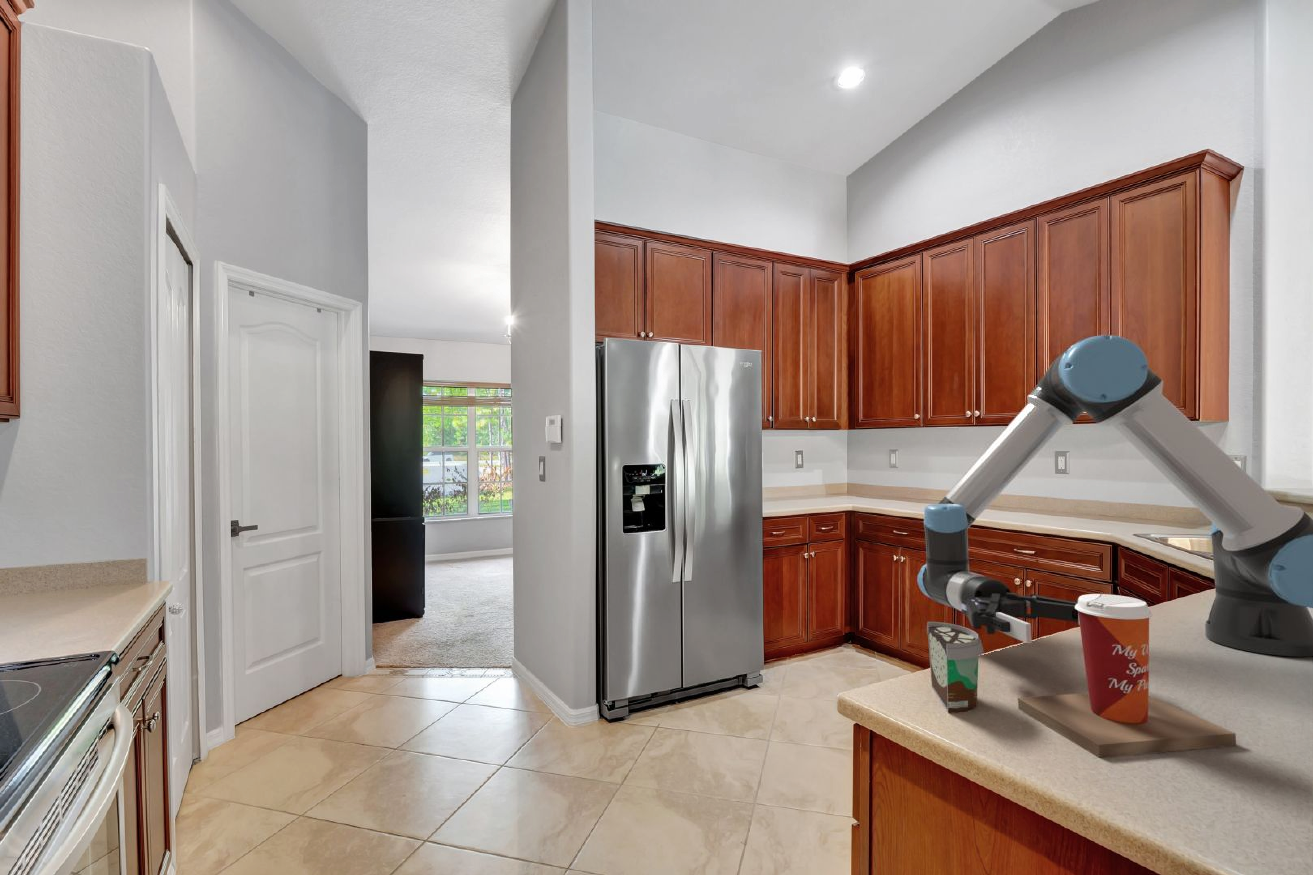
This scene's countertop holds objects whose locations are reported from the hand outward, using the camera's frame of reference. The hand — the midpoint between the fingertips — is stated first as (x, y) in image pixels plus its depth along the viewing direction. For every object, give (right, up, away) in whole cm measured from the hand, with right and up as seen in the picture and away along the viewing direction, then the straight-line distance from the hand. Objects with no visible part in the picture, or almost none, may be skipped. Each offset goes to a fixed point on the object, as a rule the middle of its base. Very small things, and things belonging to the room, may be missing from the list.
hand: (1073, 630), depth 87 cm
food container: (-15, -11, +2) cm, 19 cm away
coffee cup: (+1, -9, -7) cm, 11 cm away
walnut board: (+1, -10, -7) cm, 13 cm away
